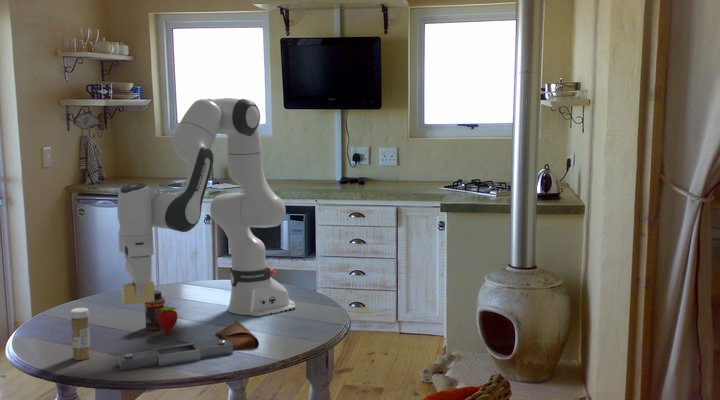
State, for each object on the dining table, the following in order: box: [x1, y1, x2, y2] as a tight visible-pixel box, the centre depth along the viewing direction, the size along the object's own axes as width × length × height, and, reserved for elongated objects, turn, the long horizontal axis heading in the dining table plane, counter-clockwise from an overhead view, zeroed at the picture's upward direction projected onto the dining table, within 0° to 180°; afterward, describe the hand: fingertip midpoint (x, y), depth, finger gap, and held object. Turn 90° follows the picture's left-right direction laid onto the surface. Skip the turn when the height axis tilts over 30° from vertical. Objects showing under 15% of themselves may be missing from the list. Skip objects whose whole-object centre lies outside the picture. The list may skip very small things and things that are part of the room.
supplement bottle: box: [144, 290, 166, 331], centre depth 220 cm, size 6×6×11 cm
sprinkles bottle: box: [69, 307, 91, 361], centre depth 194 cm, size 5×5×13 cm
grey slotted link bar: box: [117, 339, 234, 371], centre depth 194 cm, size 30×7×3 cm, turn 116°
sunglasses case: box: [214, 319, 260, 352], centre depth 209 cm, size 18×7×7 cm, turn 28°
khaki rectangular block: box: [121, 280, 155, 306], centre depth 196 cm, size 8×3×5 cm, turn 115°
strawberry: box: [157, 302, 178, 335], centre depth 214 cm, size 6×8×10 cm
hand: (138, 293), depth 196 cm, fingers closed on khaki rectangular block, 3 cm apart
